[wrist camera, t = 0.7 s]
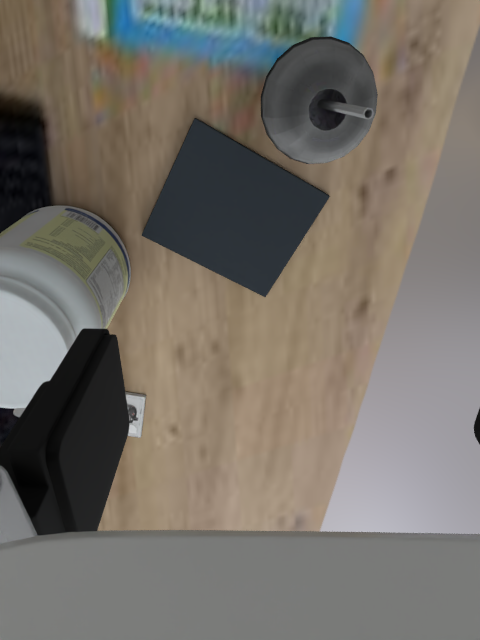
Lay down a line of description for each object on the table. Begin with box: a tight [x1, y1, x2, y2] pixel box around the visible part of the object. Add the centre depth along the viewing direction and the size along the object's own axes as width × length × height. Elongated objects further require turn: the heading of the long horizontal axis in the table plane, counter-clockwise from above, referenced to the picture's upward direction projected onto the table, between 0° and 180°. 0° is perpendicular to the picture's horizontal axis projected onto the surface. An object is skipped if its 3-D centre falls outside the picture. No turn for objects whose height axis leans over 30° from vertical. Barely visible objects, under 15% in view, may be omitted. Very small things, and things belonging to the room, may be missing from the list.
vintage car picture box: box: [14, 392, 146, 438], centre depth 54 cm, size 15×7×4 cm, turn 79°
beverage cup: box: [261, 37, 378, 164], centre depth 30 cm, size 7×7×20 cm
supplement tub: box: [0, 206, 131, 408], centre depth 39 cm, size 12×12×17 cm
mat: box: [142, 118, 330, 297], centre depth 44 cm, size 14×12×1 cm
